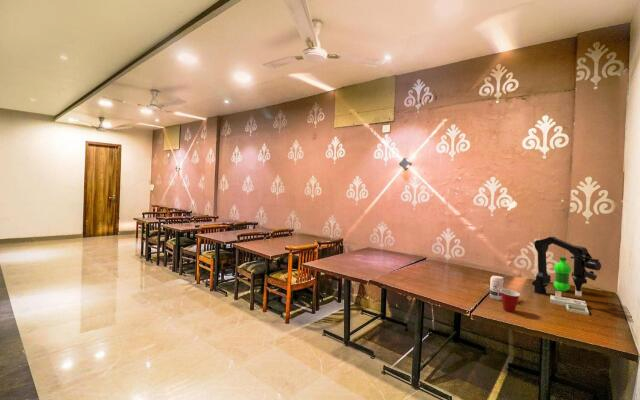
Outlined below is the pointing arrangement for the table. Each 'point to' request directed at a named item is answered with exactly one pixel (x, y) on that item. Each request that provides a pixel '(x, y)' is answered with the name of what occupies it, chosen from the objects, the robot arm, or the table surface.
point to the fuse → (557, 295)
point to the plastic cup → (509, 299)
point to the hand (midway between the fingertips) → (578, 290)
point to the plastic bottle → (562, 275)
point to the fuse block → (567, 301)
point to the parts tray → (577, 308)
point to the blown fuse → (578, 292)
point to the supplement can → (496, 287)
